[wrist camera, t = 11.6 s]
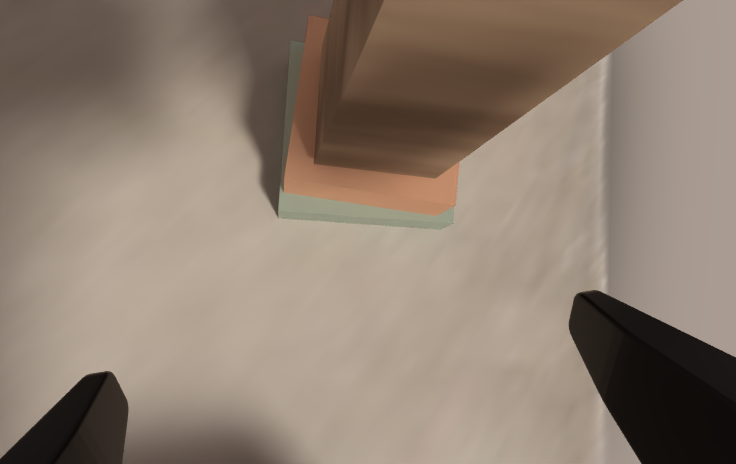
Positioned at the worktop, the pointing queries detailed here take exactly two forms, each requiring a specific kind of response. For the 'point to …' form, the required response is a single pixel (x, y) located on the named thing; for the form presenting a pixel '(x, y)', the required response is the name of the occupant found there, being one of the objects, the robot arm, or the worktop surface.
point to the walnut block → (452, 72)
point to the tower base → (332, 209)
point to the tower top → (350, 182)
